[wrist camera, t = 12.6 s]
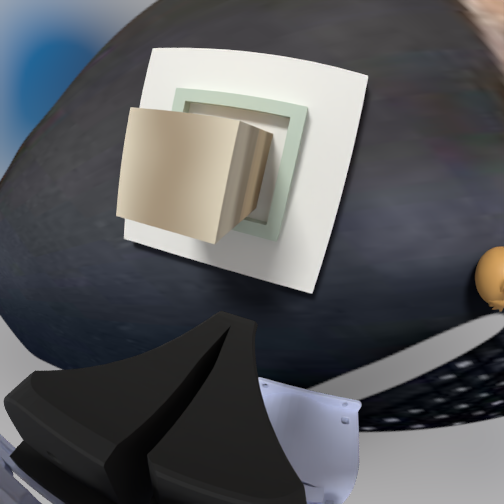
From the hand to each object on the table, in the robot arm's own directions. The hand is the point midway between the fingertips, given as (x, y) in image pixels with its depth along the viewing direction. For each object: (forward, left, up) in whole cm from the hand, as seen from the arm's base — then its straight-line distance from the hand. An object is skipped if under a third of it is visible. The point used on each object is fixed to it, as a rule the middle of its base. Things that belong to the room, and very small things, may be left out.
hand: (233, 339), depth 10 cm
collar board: (+4, -5, -10) cm, 12 cm away
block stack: (+4, -5, -9) cm, 11 cm away
